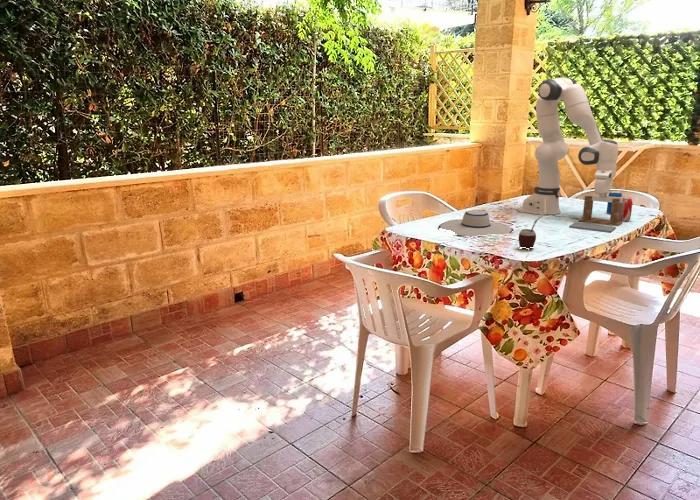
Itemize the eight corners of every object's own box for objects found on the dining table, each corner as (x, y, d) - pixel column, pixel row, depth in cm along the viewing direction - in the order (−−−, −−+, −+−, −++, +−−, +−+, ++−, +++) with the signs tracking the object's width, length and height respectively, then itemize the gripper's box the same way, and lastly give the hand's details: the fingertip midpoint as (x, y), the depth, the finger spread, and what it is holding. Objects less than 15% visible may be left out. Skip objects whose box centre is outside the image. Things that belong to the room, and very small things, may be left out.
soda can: (632, 222, 263) (635, 199, 260) (617, 221, 264) (619, 198, 261) (627, 219, 270) (630, 196, 266) (613, 218, 271) (615, 196, 268)
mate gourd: (515, 246, 225) (517, 212, 220) (533, 246, 225) (535, 212, 221) (521, 251, 217) (524, 216, 213) (540, 250, 218) (543, 216, 214)
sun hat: (423, 229, 262) (423, 211, 260) (472, 219, 282) (473, 202, 279) (478, 243, 233) (479, 223, 231) (529, 231, 253) (530, 212, 251)
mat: (569, 227, 255) (569, 225, 255) (575, 223, 263) (575, 222, 263) (610, 232, 244) (611, 231, 244) (615, 228, 251) (616, 226, 251)
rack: (578, 221, 267) (581, 196, 264) (582, 218, 273) (585, 194, 270) (618, 226, 256) (621, 200, 252) (622, 223, 262) (625, 197, 258)
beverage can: (606, 214, 281) (609, 192, 278) (606, 212, 287) (608, 190, 284) (620, 215, 279) (622, 193, 276) (619, 212, 285) (621, 191, 281)
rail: (583, 199, 266) (583, 195, 265) (584, 198, 268) (585, 194, 267) (621, 203, 255) (622, 198, 254) (622, 202, 257) (623, 197, 257)
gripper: (604, 170, 267) (601, 196, 271) (593, 175, 252) (590, 202, 256) (617, 171, 264) (614, 197, 267) (607, 175, 248) (604, 204, 252)
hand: (602, 200), depth 261 cm, fingers closed on rail, 3 cm apart
